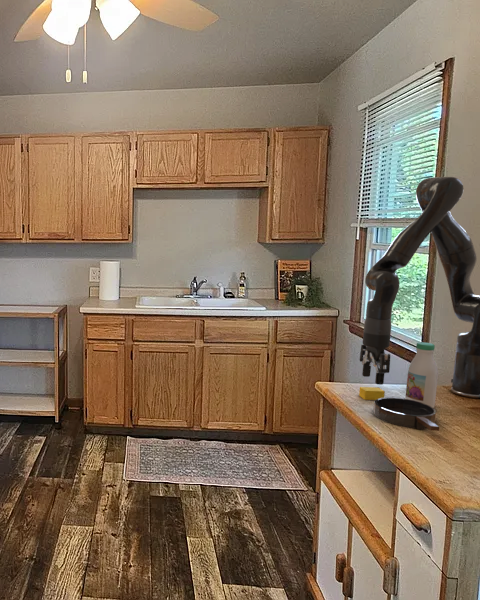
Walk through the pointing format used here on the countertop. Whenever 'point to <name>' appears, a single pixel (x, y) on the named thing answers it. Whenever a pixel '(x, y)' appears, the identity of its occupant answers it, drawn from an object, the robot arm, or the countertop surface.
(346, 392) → the countertop surface
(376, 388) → the sponge
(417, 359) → the milk bottle
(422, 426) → the pan handle
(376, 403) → the pan
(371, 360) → the robot arm
